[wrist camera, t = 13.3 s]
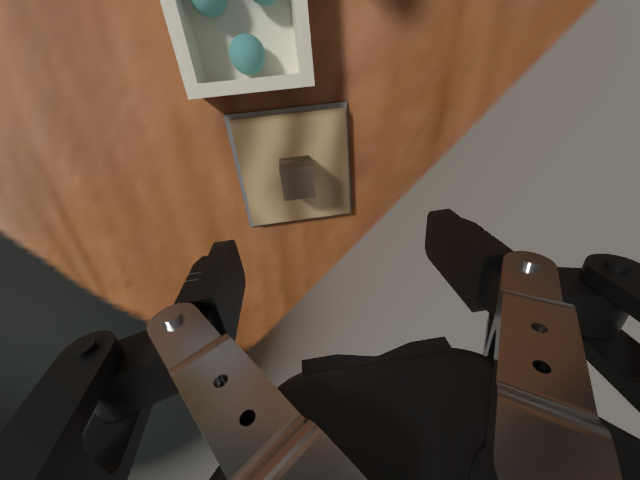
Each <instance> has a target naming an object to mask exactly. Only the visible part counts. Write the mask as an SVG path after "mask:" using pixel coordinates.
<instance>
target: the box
mask: <svg viewBox="0 0 640 480" xmlns="http://www.w3.org/2000/svg"><path fill="white" fill-rule="evenodd" d="M160 2H161V6H162V9H163V13H164V16H165V20H166V23H167V27H168V30H169V34H170V37H171V41H172V44H173V48H174V51H175V54H176V58H177V61H178V65H179V68H180V72H181V75H182V79H183V82H184V86H185V89H186V93H187V96H188V100H189V99H198V98H207V97H217V96H226V95H235V94H245V93H254V92H263V91H273V90H282V89H291V88H301V87H310V86H315V81H314V70H313V59H312V47H311V36H310V25H309V13H308V2H307V0H277V1H276V2H275V3H273V4H271V5H268V6H263V5H259V4H257V3H256V2H254V1H253V0H227V6H226V8H225V10H224V12H223V13H222V14H221V15H219V16H217V17H206V16H204V15H202V14H200V13H199V12H198V11H197V10H196V9H195V8H194V7H193V6H192V4H191V3H190V1H189V0H160ZM242 33H248V34H251V35H253V36H255V37H256V38H257V39H258V40H259V41H260V42H261V43H262V45H263V47H264V50H265V56H266V59H265V64H264V66H263V68H262V69H261V71H260V72H258V73H257V74H254V75H245V74H242V73H241V72H239V71H238V70H237V69H236V68H235V67H234V65H233V64H232V62H231V59H230V55H229V48H230V44H231V42H232V40H233V39H234V38H235V37H236V36H237V35H239V34H242Z"/></svg>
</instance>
